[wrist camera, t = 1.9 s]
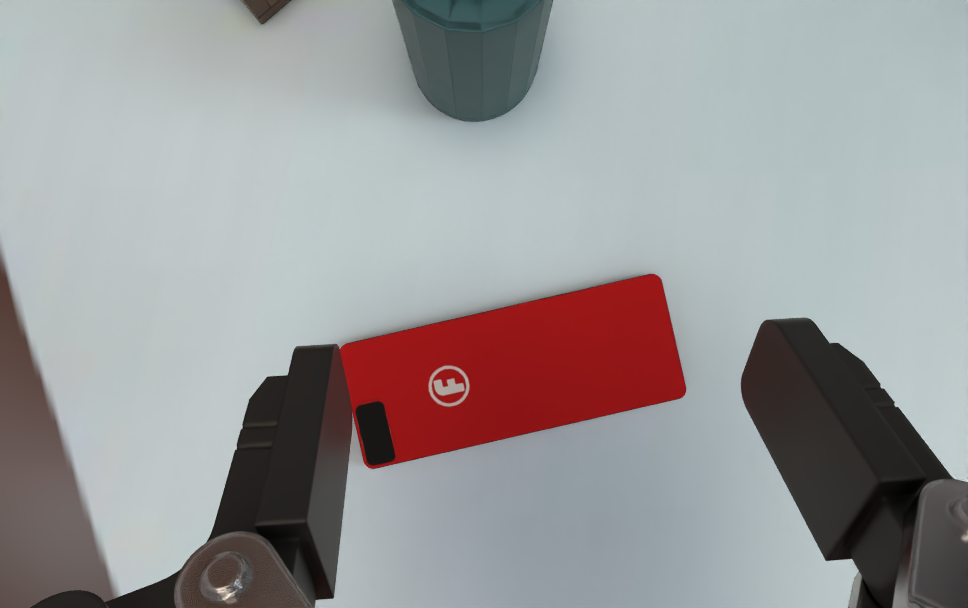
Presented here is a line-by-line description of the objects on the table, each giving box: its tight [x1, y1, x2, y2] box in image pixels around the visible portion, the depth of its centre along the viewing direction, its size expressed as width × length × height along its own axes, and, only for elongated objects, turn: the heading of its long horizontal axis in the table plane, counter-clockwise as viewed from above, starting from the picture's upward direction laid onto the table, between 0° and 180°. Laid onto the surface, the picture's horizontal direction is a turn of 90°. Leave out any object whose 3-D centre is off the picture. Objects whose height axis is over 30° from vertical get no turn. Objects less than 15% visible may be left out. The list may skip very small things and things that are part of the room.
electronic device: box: [340, 274, 686, 469], centre depth 28 cm, size 6×1×15 cm
